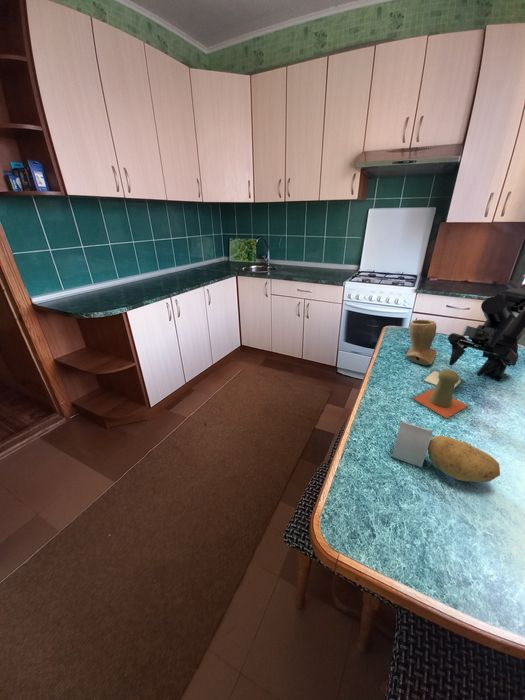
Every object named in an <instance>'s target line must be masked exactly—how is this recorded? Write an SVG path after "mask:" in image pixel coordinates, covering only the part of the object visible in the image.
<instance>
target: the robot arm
mask: <svg viewBox="0 0 525 700" xmlns="http://www.w3.org/2000/svg"><path fill="white" fill-rule="evenodd" d="M480 309H481V311H482V313H483V316H484V318H485V319H486V320H485V322H484V323H483V324H479V325H478V326H477V327H474V326H469V325H465V327H464V329H463V332H462V333H461V334H459V333H455V332H452V333H450V334H449V335H448V337H447V338H446V340H447V341H448V343H449V344H450V345H451V353H450V359H449V363H448V365H449V367H452V366H454V364H456V363H457V361H458V360H460V358H461V357H462V356H463V355H464V354H465V353H466V350H467V349H468V348H470V349H474V350H476V351H477V350H478V351H481V352H482V358H486V361H484V363H483V364H482V366H481V367H480V369H479V370H478V371H477V373H476V376H477V377H482V376H485V377H488V378H490V379H493V380H495V381H498V382H499V381H502V379H504V378H505V377H507V376H508V373H505V372H506V370H507V367H511V366H513V367H515V366H516V364H517V362H518V359H519V344H518V343H519V341H520V339H521V338H522V337H523V335H524V334H525V283H524V284H522V285H520V286H519V287H517V288H508V289H505V290H503V291H502V292H500V293H497V294H496V295H495V296H490V297H487V298H486V299H485V300H483V301H482V303H481V304H480ZM512 313H517V314H518V315H517V316H516V317H515V318H514V316H513V314H512ZM466 337H467V338H468V339H469V340H468V339H467V338H466ZM465 349H466V350H465Z"/></svg>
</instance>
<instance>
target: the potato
mask: <svg viewBox="0 0 525 700" xmlns="http://www.w3.org/2000/svg"><path fill="white" fill-rule="evenodd" d="M427 454H428V456H429V459H430V460H431V462H432V463H433V464H434V466H435V467H436V468H437V469H439V471H441V472H442V473H444V474H446V475H447V476H449V477H451V478H453V479H454V480H458V481H462V482H473V483H475V482H476V483H487V482H489V483H490V482H492V481H493V480H495V479H496V478H498V477H500V476H501V470H500V469H501V468H500V463H499V462H498V461H497V460H496V459H495V458H494V457H493V456H492V455H490V454H489V453H486V452H485V451H483V450H481V449H479V448H478V447H476V446H473V445H471V444H469V443H467V442H464V441H462V440H459V439H455V438H453V437H450V436H445V435H441V434H440V435H435V436H434V437H433V438H432V437H431V439H430V443H429V447H428V450H427Z"/></svg>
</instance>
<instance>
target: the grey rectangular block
mask: <svg viewBox="0 0 525 700" xmlns="http://www.w3.org/2000/svg"><path fill="white" fill-rule="evenodd" d="M396 434H397V435H396V438H395V442H394V446H393V450H392V455H391V457H392V458H394V459H397V460H399V461H403V462H405V463H408V464H411V465H413V466H415V467H419V468H423V465H424V462H425V459H426V456H427V454H428V447H429V443H430V440H431V439H432V435H433V430H432V429H428V428H426V427H422V426H420V425H419V426H418V425H416V424H412V423H409V422H405V421H403V420H400V423H399V428H398V431H397V433H396Z"/></svg>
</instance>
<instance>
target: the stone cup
mask: <svg viewBox="0 0 525 700" xmlns="http://www.w3.org/2000/svg"><path fill="white" fill-rule="evenodd" d="M408 333H409V339H410V347H409V349H408V350H407V352H406V354H405V358H407V359H408V360H410V361H412V362H413V363H415V364H418V365H424V366H429V365H432V364H433V362H434V360H435V358H436V356H437V352H438V351H437V350H436V349H434V348H431V347H432V344H433V342H434V339H435V337H436V335H437V334H436V333H437V323H436V321H434V320H431V319H414V320H411V321H410V322H409V328H408Z"/></svg>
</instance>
